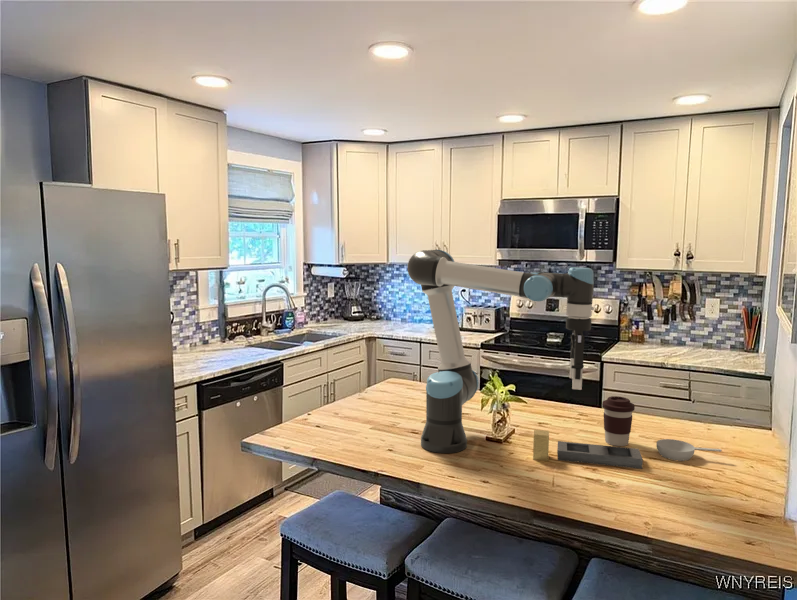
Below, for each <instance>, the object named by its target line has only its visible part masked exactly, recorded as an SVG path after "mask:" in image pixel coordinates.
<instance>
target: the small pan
mask: <svg viewBox="0 0 797 600" xmlns="http://www.w3.org/2000/svg"><path fill="white" fill-rule="evenodd" d="M656 450H657V451H658V453H659V455H660V456H661V455H662V456H661V457H662V458H665V459H667V458H668V459H667V460H671V459H672V460H671V461H676V460H678V461H679V462H685V460H686V461H690V460H691V459H692V457H693V456H694V454H695V451H706V452H707V451H708V452H719V453H721V452H722V449H720V448H709V447H695V446H694V444H691V443H689V442H686V441H683V440H678V439H671V438H663V439H659V440H657V441H656ZM678 461H677V462H678Z"/></svg>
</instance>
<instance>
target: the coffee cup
mask: <svg viewBox="0 0 797 600" xmlns="http://www.w3.org/2000/svg"><path fill="white" fill-rule="evenodd" d="M606 398H607V399H606V400H602V404H601V405H602V406H601V407H602V408H603V410H604V411H603V429H604V441H605V443H607V444H608V445H609V446H615V447H626V446H628V445H629V442H630V441H629V440H630V435H631V430H632V423H633V412H634V411H635V407H636V406H635V404H634V403H632V402H631V400H630V398H627V397H624V396H618V395H617V396H616V395H615V396H613V395H612V396H609V397H606Z"/></svg>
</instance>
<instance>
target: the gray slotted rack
mask: <svg viewBox="0 0 797 600" xmlns="http://www.w3.org/2000/svg"><path fill="white" fill-rule="evenodd" d="M556 455H557V461H562V462H573V463H579V464H581V463H583V464H591V465H601V466H602V465H603V466H610V467H611V466H612V467H620V468H629V469H637V470H643V462H644V461H643V460H644V459H643V457H642V454H641V451H640V449H639V448H636V447H635V448H634V447H626V446H614V445H602V444H595V443H593V444H592V443H583V442H582V443H581V442H569V441H562V440H561V441H560V440H557V454H556Z"/></svg>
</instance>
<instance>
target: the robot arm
mask: <svg viewBox="0 0 797 600" xmlns="http://www.w3.org/2000/svg"><path fill="white" fill-rule="evenodd" d="M406 267H407V273H408V276H409V277H410V279H411V280H412V281H413V282H414V283H415V284H417V285H420V286H421V291H422V292H423V293H424V294H425V295H426V296H427V299H428V303H429V304H428V305H429V310H430V314H431V320H432V324H433V329H434V335H435V339H436V343H437V350H438V355H439V359H440V363H439V365H438V367H437V372H433V373H431V374H429V376H428V377H427V379H426V386H425V391H426V394H425V395H426V399H425V400H426V402H425V404H426V409H425V410H426V411H425V412H426V414H425V415H426V420H425V425H424V428H423V430H422V434H421V436H420V446H421V447H422V448H423V449H424V450H426V451H429V452H433V453H437V454H453V453H454V454H455V453H459V452H461V451H462V452H463V451H464V450H465V449H466V448H467V447H468V437H467V434H466V431H465V429H464V426H463V405H464V404H466V403H467V402H468V401H470V400H472V398H473V397H474V396H475V394H476V393H477V392H478V389H479V377H478V375H477V373H476V372H475V371H474V370H473V369H472V367H473V366H472V364H471V361H470V360H469V359H467V358H466V356H465V355H466V354H465V349H464V345H463V341H462V335H461V330H460V325H459V320H458V316H457V310H456V305H455V300H454V296H453V295H454V294H453V289H454V287H459V288H464V289H465V288H466V289H470V290H477V291H483V292H489V293H495V294H500V295H501V294H502V295H507V296H513V297H520V298H523V299H528V300H531V301H533V302H542V301H543V302H544V301H545V300H547V299H548V298H552V297H553V298H567V300H566V311H565V312H566V313H565V314H566V316H567V317H566V319H565V329H567V330H569V331H571V332H572V334H570V353H569V354H570V355H569V356H570V357H569V358H570V362H569V379H572V383H571V384H572V385H571V386H572V387H571V389H572V390H579V391H581V390H583V389H582V387H583V372H584V371H583V369H584V366H585V365H584V351H585V350H584V349H585V340H586V336H585V335H584V334H583V332H589V331H591V329H592V319H591V317H592V313H593V312H592V311H594V310H595V307H594V306H593V299H594V298H593V297H594V284H595V282H594V269H592V268H590V267H568V271H567V272H566V273H557V272H555V273H554V272H543V271H539V272H531V273H530V272H523V271H516V270H510V269H505V268H504V269H503V268H497V267H490V266H486V265H485V266H484V265H483V266H482V265H477V264H472V263H471V264H470V263H465V262H458V261H455V260H454V258H453V256H452V255H451V254H450V253H448V252H447V251H444V250H441V249H428V250H419V251H417V252H415V253H413V255H412V256H410V258H409V259H408V262H407V266H406Z"/></svg>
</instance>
